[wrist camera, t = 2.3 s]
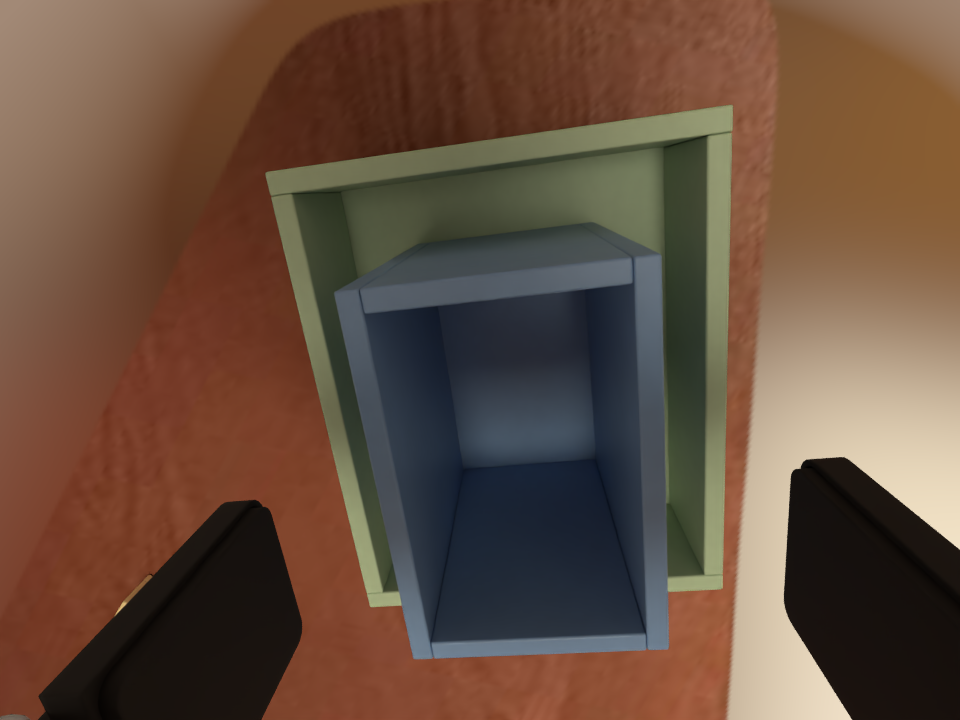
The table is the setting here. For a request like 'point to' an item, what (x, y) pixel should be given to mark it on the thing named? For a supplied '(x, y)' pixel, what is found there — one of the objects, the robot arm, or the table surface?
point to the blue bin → (518, 439)
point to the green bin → (525, 206)
